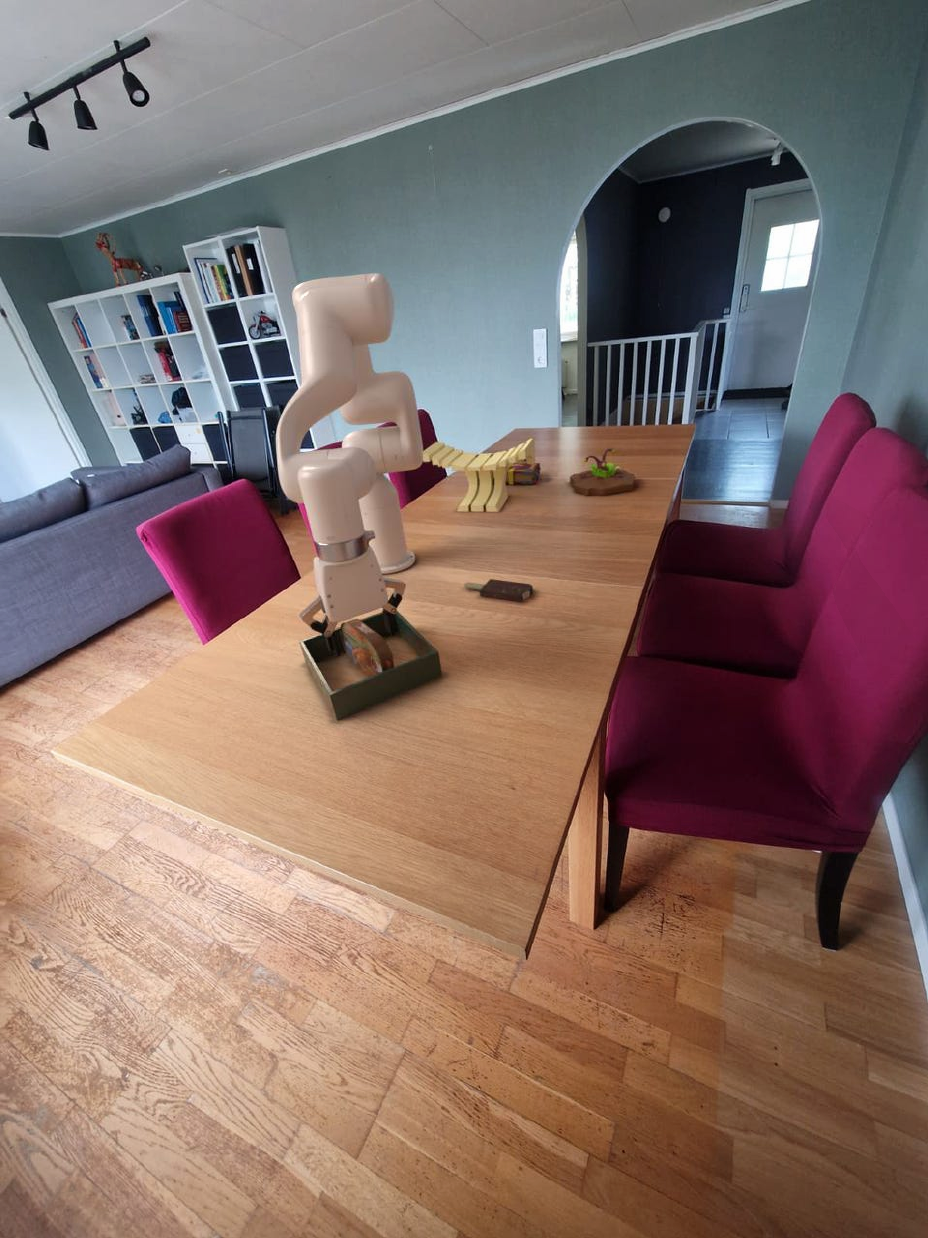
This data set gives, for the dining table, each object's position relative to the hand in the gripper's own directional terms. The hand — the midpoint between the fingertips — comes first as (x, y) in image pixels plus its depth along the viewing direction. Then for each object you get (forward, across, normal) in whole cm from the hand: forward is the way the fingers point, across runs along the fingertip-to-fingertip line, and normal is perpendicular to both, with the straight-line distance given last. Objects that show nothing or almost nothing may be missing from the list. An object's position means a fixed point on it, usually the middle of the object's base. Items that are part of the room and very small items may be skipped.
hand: (364, 642), depth 85 cm
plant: (+5, -97, -48) cm, 108 cm away
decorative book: (+5, -82, -74) cm, 111 cm away
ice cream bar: (+6, -32, -10) cm, 34 cm away
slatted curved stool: (+5, -61, -62) cm, 87 cm away
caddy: (+6, 0, 0) cm, 6 cm away
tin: (+6, 0, 0) cm, 6 cm away
